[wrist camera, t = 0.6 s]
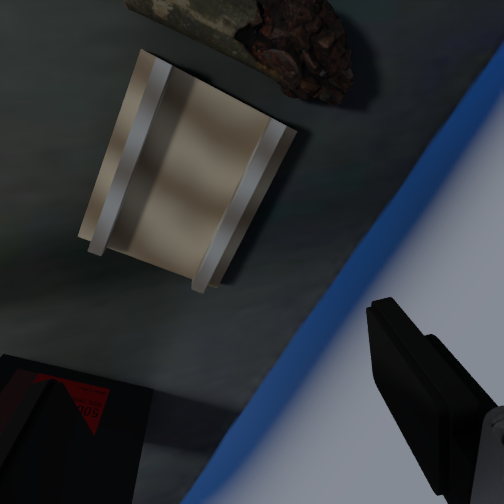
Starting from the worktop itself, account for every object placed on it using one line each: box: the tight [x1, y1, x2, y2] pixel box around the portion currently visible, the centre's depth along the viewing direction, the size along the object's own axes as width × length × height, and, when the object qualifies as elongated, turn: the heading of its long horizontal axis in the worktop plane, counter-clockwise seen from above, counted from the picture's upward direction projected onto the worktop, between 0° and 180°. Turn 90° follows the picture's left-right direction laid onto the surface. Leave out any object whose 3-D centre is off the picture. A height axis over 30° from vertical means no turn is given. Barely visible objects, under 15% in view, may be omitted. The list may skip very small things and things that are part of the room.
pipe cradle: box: [78, 49, 297, 293], centre depth 33 cm, size 17×14×3 cm
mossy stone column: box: [124, 0, 355, 106], centre depth 27 cm, size 18×7×6 cm, turn 64°
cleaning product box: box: [0, 354, 153, 504], centre depth 34 cm, size 16×9×20 cm, turn 67°
